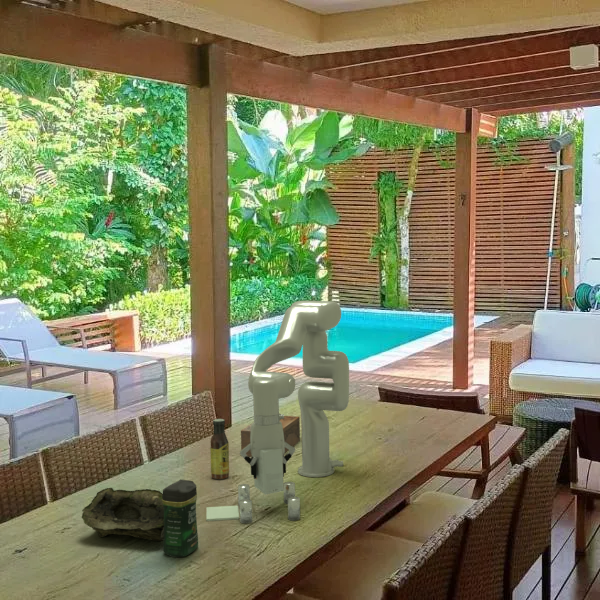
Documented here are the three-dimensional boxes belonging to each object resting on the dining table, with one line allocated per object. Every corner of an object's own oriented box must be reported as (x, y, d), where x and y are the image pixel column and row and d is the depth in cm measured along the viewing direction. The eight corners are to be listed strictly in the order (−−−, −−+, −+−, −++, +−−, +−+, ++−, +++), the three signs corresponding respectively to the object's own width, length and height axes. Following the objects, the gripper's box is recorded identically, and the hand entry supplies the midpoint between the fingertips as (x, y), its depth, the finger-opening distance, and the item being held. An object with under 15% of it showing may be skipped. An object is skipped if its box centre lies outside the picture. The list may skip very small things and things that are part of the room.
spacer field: (294, 500, 256) (294, 481, 255) (300, 520, 238) (300, 500, 238) (238, 503, 254) (237, 484, 253) (240, 523, 236) (239, 503, 236)
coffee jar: (186, 560, 212) (183, 490, 210) (159, 556, 214) (156, 487, 213) (203, 546, 221) (201, 478, 219) (177, 542, 223) (175, 476, 222)
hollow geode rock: (178, 559, 224) (197, 508, 232) (159, 540, 214) (180, 488, 223) (94, 542, 235) (115, 494, 243) (72, 524, 225) (95, 474, 234)
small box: (284, 491, 244) (282, 448, 242) (264, 495, 241) (263, 452, 239) (273, 483, 251) (271, 441, 249) (254, 486, 248) (252, 445, 247)
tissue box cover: (265, 439, 329) (265, 414, 328) (300, 441, 325) (299, 416, 324) (241, 456, 305) (240, 430, 304) (277, 459, 300) (277, 432, 299)
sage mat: (238, 507, 250) (237, 505, 250) (239, 519, 240) (239, 517, 240) (206, 509, 249) (206, 507, 249) (206, 521, 239) (206, 519, 239)
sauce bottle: (226, 480, 276) (224, 422, 274) (208, 479, 278) (206, 422, 276) (231, 474, 283) (230, 418, 281) (214, 473, 284) (212, 417, 282)
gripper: (294, 414, 248) (296, 470, 250) (236, 417, 246) (239, 474, 248) (297, 420, 241) (298, 478, 243) (237, 424, 239) (240, 482, 241)
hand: (268, 476), depth 246 cm, fingers closed on small box, 7 cm apart
